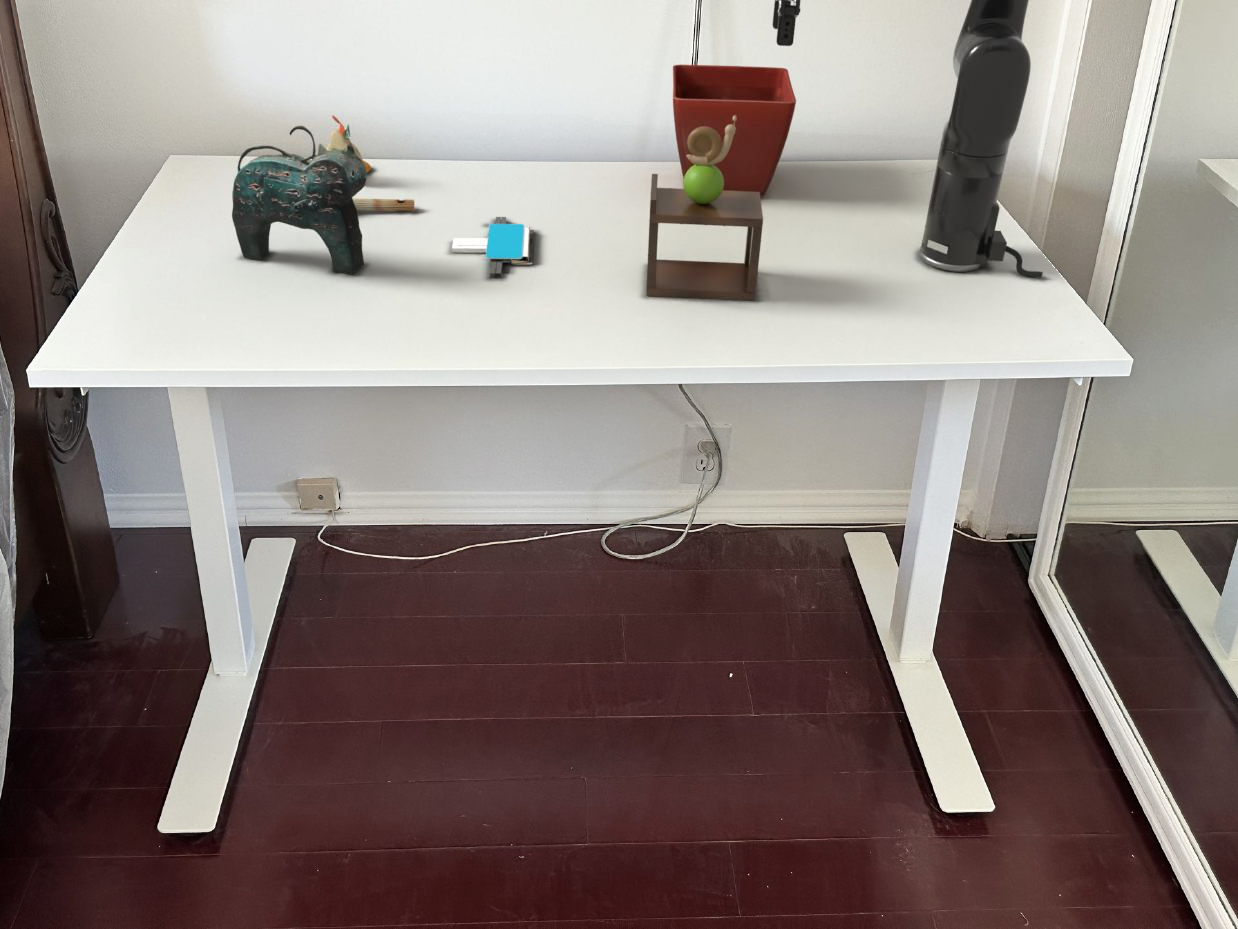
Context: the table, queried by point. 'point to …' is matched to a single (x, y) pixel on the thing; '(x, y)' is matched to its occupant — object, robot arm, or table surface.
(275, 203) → the ceramic cat
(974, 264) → the robot arm
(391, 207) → the ribbed wooden cylinder
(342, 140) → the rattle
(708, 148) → the snail figurine
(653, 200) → the box
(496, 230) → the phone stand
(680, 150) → the flower pot
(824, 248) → the table surface
